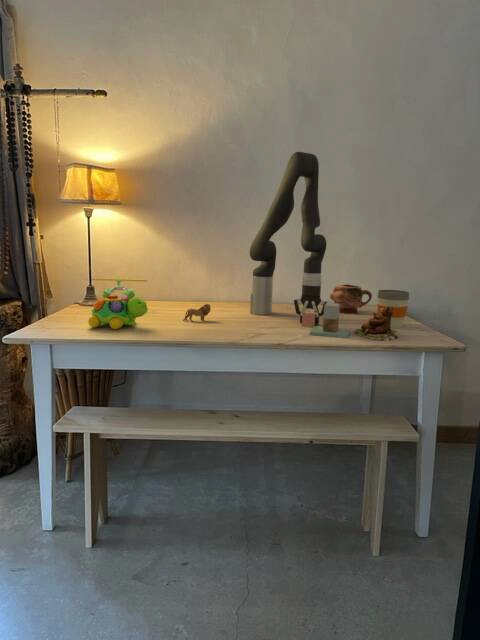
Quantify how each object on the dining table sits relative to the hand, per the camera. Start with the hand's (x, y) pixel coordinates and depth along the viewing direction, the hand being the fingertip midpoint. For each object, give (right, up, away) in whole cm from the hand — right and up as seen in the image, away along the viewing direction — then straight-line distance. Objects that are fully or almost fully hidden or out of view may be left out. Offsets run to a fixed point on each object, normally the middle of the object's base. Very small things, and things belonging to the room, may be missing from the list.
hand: (309, 324), depth 199 cm
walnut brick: (+6, -2, -13) cm, 15 cm away
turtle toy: (-76, 0, -9) cm, 77 cm away
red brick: (0, -1, 0) cm, 0 cm away
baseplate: (+6, -3, -13) cm, 15 cm away
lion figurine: (-47, +1, +3) cm, 47 cm away
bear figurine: (+23, -5, -16) cm, 28 cm away
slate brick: (+6, +3, -14) cm, 16 cm away
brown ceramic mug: (+24, +5, +33) cm, 41 cm away
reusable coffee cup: (+34, -1, +3) cm, 35 cm away
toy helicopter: (-85, +7, +26) cm, 89 cm away
